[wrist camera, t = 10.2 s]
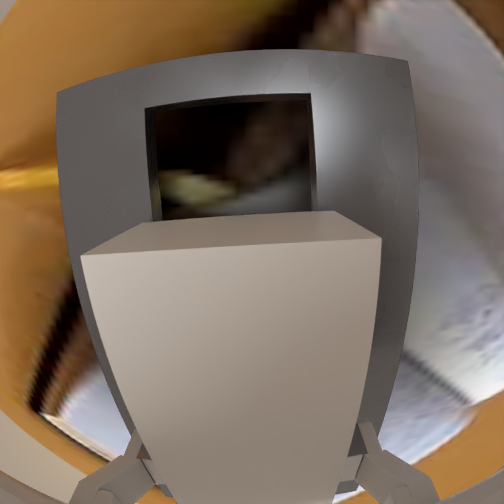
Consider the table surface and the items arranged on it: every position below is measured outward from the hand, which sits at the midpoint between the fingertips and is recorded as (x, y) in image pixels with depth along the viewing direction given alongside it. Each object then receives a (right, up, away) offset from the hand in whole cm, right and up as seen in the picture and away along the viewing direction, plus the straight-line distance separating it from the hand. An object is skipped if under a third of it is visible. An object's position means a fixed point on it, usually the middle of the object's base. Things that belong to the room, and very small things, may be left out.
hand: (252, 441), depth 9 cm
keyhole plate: (0, +3, +5) cm, 6 cm away
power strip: (0, +1, +5) cm, 5 cm away
